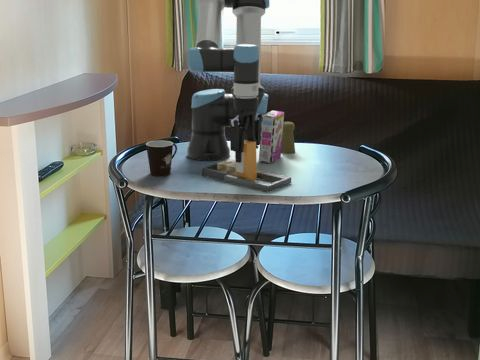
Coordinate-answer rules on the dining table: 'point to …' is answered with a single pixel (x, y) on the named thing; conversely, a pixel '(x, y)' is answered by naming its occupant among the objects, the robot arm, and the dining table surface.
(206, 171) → the frame
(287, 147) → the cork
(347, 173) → the dining table surface
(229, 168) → the tan wooden cube
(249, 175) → the orange rectangular block
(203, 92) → the robot arm
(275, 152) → the candy bar box
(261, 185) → the grey flat rectangular tray
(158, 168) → the coffee mug
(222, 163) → the beige cube
